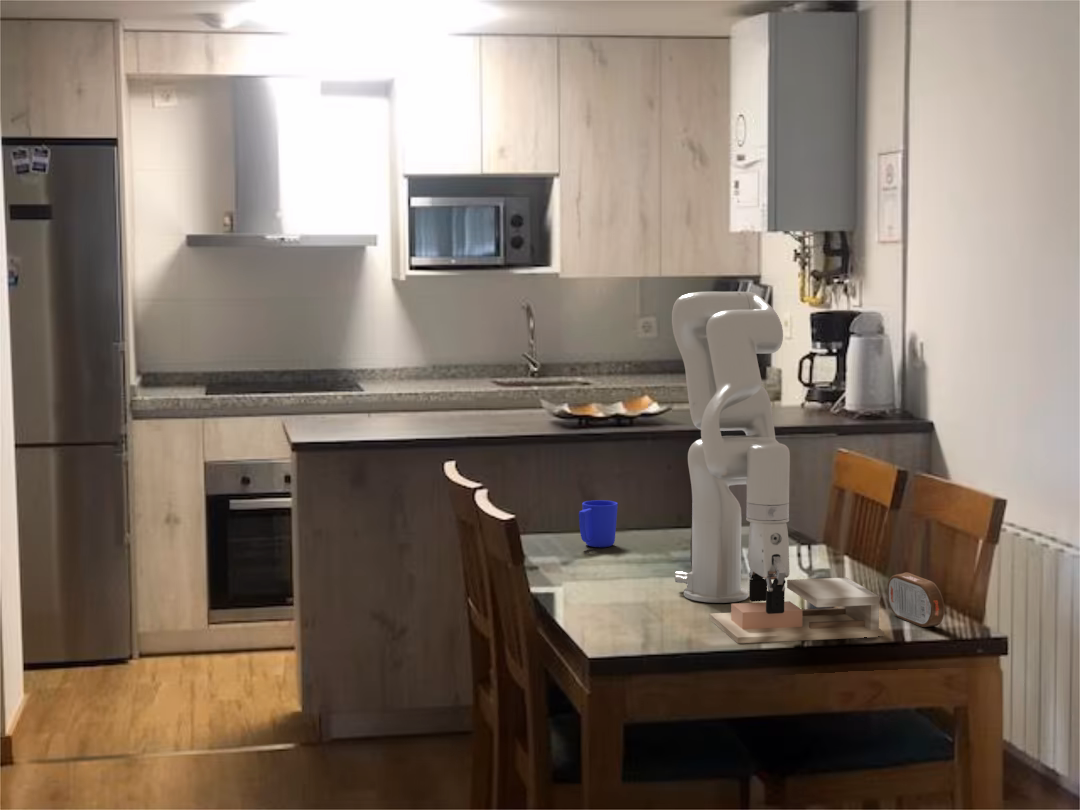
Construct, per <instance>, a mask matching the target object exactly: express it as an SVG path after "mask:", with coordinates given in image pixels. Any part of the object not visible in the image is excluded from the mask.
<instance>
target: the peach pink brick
mask: <svg viewBox="0 0 1080 810" xmlns="http://www.w3.org/2000/svg"><path fill="white" fill-rule="evenodd" d="M730 604H731V605H730V606H731V607H730V608H731V609H730V613H731V620H732V621H733V622H734V623H735V624H737V625H738V626H739V627H740V628H742V629H759V628H783V627H802V612H803V610H802V609H803V608H800V607H799V606H797V605H796V604H795V603H793V602H791V601H784V613H777V614H768V613H766V601H759V602H741V603H740V602H739V603H738V602H733V603H730Z"/></svg>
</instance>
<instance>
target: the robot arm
mask: <svg viewBox="0 0 1080 810" xmlns="http://www.w3.org/2000/svg"><path fill="white" fill-rule="evenodd" d="M671 327H672V333H673V337H674V340H675V343H676V346H677V348H678V351H679V353H680V355H681V358H682V362H683V365H684V369H685V379H686V387H687V388H686V389H687V397H688V406H689V414H690V417H691V422H692V424H693V425H694V427H695V428H697V429H698V430H700V437H701V438H699V439H697V440H695V441H694V442H693V443H691V445H690V447H689V449H688V452H687V465H688V471H689V479H690V484H691V485H690V486H691V500H692V503H691V504H692V508H691V509H692V510H691V511H692V512H691V513H692V515H691V517H692V519H691V520H692V523H691V528H692V571H690V572H685V571H675V573H674V582H675V583H679V584H683V583H684V584H685V585H686V587H685V588H684V589H683V596H684V597H685V598H686V599H688V600H691V601H695V602H700V603H710V604H711V603H712V604H725V603H726V604H728V603H730V604H731V603H738V602H741V601H745V600H747V599H749V601H750V602H766V613H768V614H777V613H784V602H785V591H786V587H785V584H786V583H787V580H786V579H787V578H788V577H789V576H790V570H791V569H790V546H789V545H790V544H789V532H788V524H787V523H788V522H789V521H790V473H791V472H790V467H791V466H790V465H791V457H790V456H791V454H790V449H789V447H788V446H787V445H786V444H784V443H781V442H779V441H778V440H777V439H776V433H775V426H774V425H775V424H774V416H773V408H772V403H771V398H770V396H769V394H768V393H769V392H768V391H767V389H766V388H765V387H764V386H762V385H763V381H762V377H761V371H760V367H759V363H758V355H757V354H759V355H760V354H774V353H776V352H778V351H779V350H780V348H781V346H782V345H783V341H784V340H783V339H784V330H783V325H782V321H781V319H780V317H779V315H778V314H777V312H776V310H775V309H774V308H773V307H772V306H771V305H770V304H769V303H768V302H767V301H766V300H765V299H764V298H763V297H762V296H761V295H760V294H758V293H755V292H753V291H697V292H689V293H686V294H683V295H680V297H677V299H676V300H675V302H674V304H673V307H672V311H671ZM722 431H723V432H725V431H726V432H727V431H728V432H729V431H742V432H744V433H745V435H722ZM736 485H746V502H745V503H746V506H745V507H746V509H745V513H746V514H745V516H746V518H745V519H746V521H747V522H749V532H748V533H749V534H748V550H747V551H748V552H747V553H748V554H747V556H748V567H749V569H750V570H749V574H748V578H749V580H748V581H749V583H748V584H749V585H748V586H749V589H746V588H744V587H742V586H741V584H742V583H741V581H742V579H741V578H742V577H741V576H742V575H741V573H742V507H741V505H740V502H739V500H738V499H737V497H736V496H735V495H734V494H733V492H732V491H731V489H730V486H736ZM748 590H749V591H748Z"/></svg>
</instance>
